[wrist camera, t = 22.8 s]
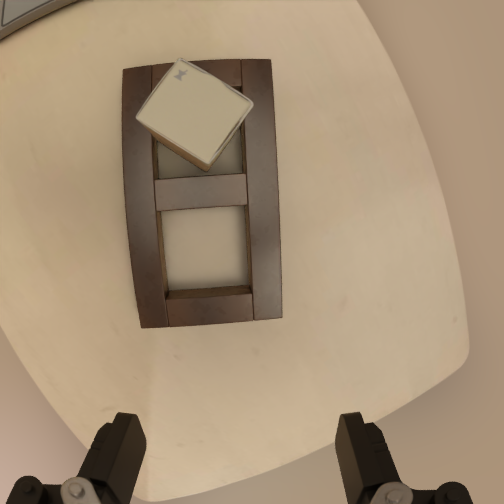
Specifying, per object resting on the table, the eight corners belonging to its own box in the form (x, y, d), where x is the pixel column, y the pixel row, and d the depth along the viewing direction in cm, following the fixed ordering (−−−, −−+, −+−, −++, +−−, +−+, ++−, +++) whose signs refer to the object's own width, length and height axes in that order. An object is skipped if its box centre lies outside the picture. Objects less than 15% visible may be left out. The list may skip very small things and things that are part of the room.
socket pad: (266, 68, 26) (271, 59, 23) (276, 307, 30) (282, 318, 28) (129, 77, 24) (122, 68, 22) (145, 317, 29) (140, 328, 26)
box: (158, 142, 26) (128, 115, 15) (188, 101, 25) (176, 52, 15) (209, 175, 27) (209, 166, 16) (238, 134, 27) (256, 101, 16)
